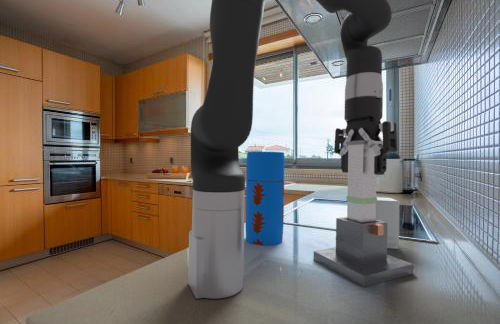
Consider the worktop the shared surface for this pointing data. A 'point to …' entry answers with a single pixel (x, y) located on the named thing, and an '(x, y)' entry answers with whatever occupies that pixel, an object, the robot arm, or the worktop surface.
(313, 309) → the worktop surface
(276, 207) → the thermos
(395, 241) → the supplement box
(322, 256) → the stand base
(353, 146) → the column
